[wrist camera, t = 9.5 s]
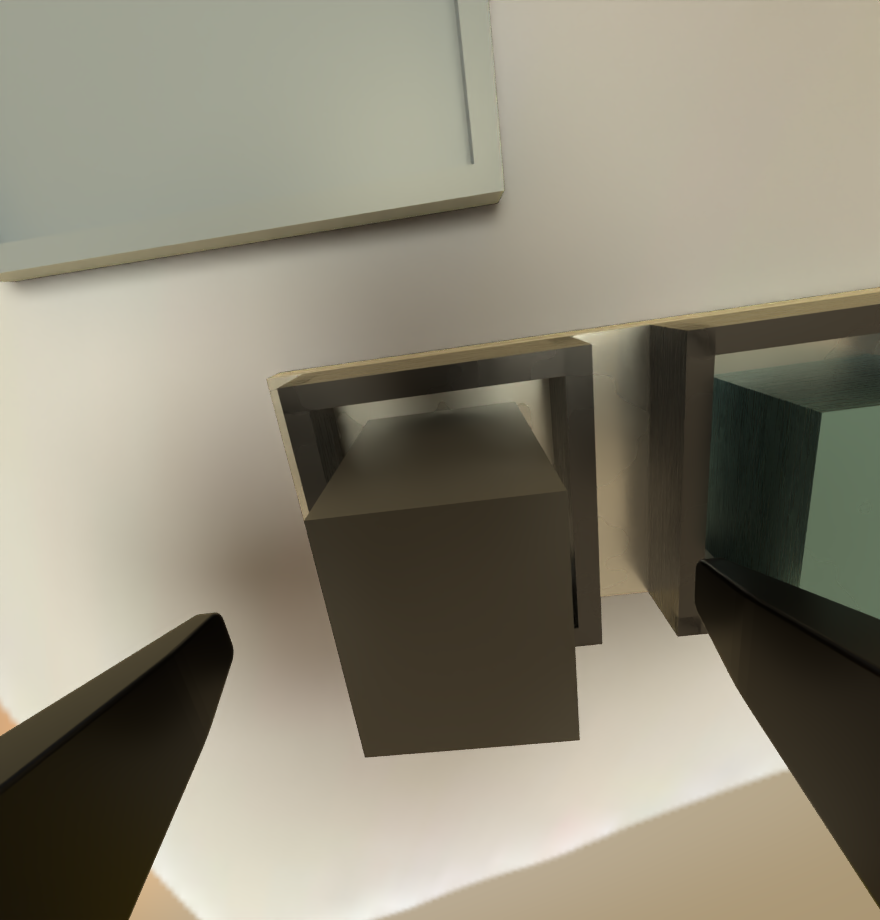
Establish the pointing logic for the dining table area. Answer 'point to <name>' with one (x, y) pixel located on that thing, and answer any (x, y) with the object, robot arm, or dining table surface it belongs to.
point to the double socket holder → (660, 442)
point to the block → (450, 583)
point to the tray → (234, 123)
